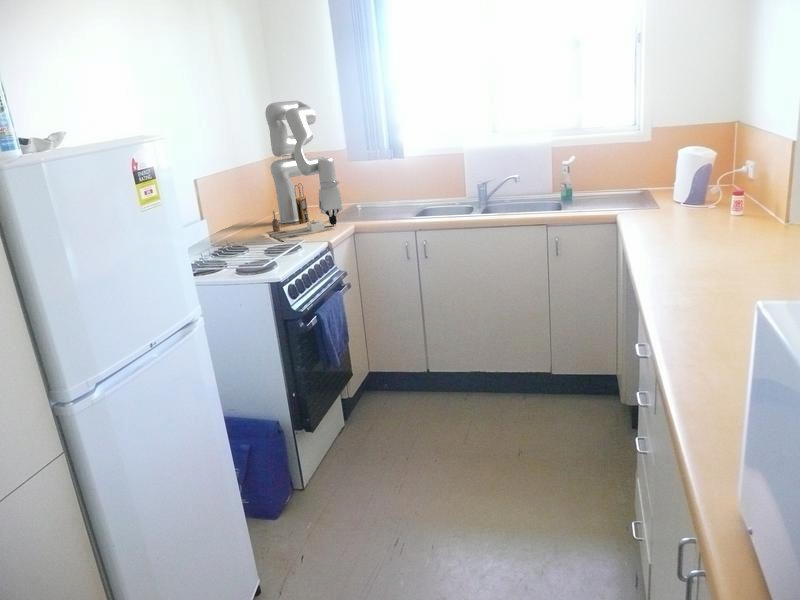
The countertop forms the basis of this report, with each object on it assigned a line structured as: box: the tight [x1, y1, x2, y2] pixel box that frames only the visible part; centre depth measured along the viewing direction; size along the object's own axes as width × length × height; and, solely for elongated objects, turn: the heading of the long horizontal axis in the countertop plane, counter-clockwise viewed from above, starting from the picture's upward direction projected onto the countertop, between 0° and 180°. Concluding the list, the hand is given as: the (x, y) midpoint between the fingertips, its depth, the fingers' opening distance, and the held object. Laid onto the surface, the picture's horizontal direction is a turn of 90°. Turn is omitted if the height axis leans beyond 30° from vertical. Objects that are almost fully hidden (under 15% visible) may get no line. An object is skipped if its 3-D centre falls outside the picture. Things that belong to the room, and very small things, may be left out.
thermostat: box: [306, 220, 325, 231], centre depth 308 cm, size 6×6×3 cm
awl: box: [271, 210, 281, 233], centre depth 312 cm, size 3×3×11 cm
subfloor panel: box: [268, 225, 336, 243], centre depth 306 cm, size 18×26×1 cm
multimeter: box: [294, 182, 310, 225], centre depth 328 cm, size 15×10×20 cm
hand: (333, 224), depth 312 cm, fingers closed
